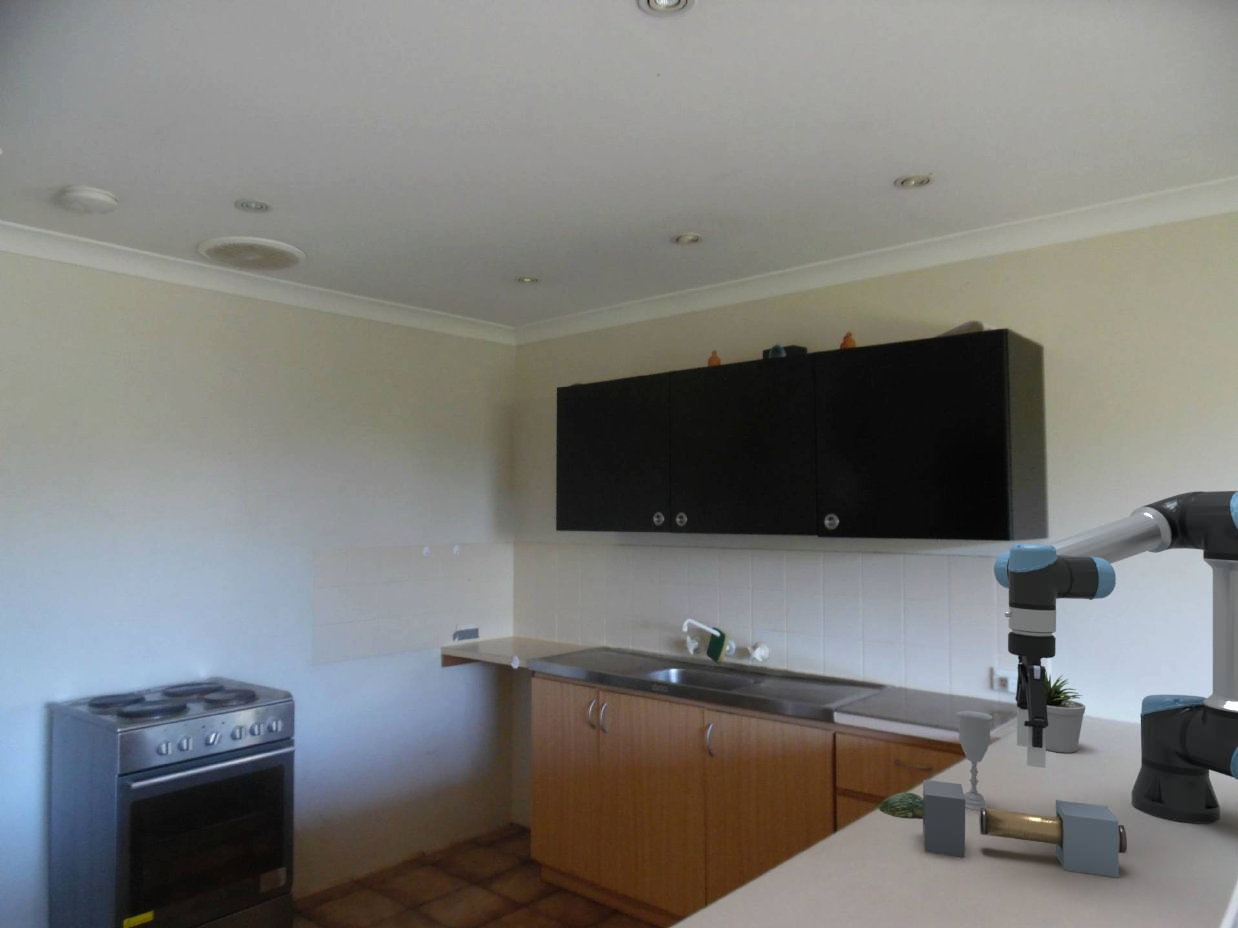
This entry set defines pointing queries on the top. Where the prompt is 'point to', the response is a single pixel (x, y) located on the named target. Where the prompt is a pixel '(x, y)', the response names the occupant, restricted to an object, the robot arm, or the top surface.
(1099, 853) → the blue-grey cube-like block
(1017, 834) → the slip tube
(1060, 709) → the potted plant
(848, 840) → the top surface
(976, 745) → the chalice
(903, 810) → the seashell
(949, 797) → the socket
